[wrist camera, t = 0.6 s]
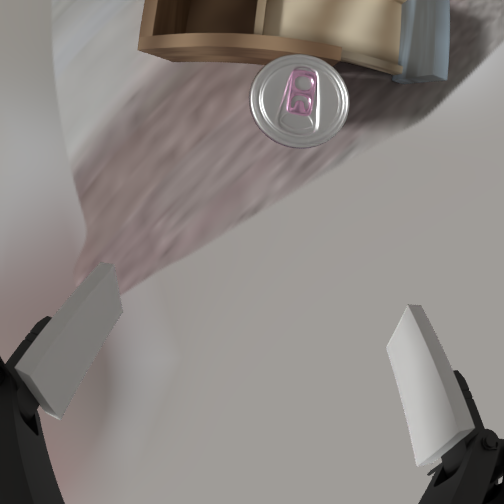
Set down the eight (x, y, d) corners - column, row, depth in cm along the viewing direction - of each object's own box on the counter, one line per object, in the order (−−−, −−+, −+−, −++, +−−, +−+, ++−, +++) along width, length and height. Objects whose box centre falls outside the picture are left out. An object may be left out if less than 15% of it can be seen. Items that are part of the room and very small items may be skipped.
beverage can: (323, 83, 27) (359, 63, 13) (314, 135, 29) (343, 160, 16) (266, 73, 27) (254, 43, 13) (258, 126, 29) (240, 142, 16)
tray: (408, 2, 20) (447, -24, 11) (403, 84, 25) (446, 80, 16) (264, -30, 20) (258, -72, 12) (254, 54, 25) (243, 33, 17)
